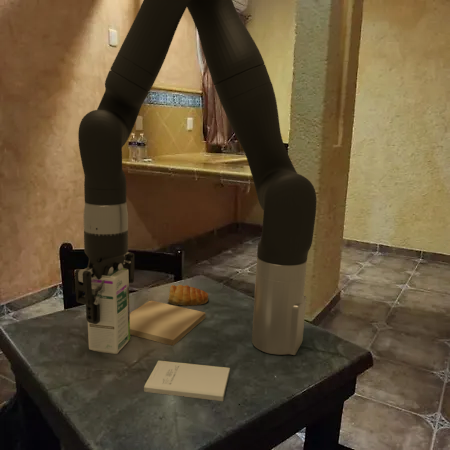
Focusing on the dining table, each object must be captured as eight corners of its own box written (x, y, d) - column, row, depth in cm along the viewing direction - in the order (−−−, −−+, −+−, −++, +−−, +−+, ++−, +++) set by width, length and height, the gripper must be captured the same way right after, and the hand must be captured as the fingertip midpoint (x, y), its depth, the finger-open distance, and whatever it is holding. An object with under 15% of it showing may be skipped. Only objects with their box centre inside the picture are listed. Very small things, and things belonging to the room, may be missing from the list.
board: (205, 317, 95) (205, 312, 94) (173, 345, 82) (173, 339, 82) (150, 305, 100) (150, 300, 100) (111, 329, 87) (111, 324, 87)
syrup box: (117, 354, 78) (116, 277, 75) (87, 350, 79) (84, 274, 76) (130, 340, 83) (130, 267, 80) (101, 336, 85) (100, 264, 81)
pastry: (208, 297, 107) (208, 282, 106) (207, 308, 100) (208, 292, 99) (169, 295, 107) (170, 280, 106) (166, 307, 100) (167, 291, 99)
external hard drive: (222, 404, 66) (143, 394, 68) (229, 375, 74) (158, 367, 76) (223, 395, 66) (143, 385, 67) (230, 366, 74) (158, 358, 75)
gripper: (96, 239, 69) (98, 335, 72) (146, 222, 82) (146, 305, 85) (59, 232, 72) (63, 325, 75) (114, 217, 85) (114, 297, 88)
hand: (107, 314), depth 80 cm, fingers open, 7 cm apart
